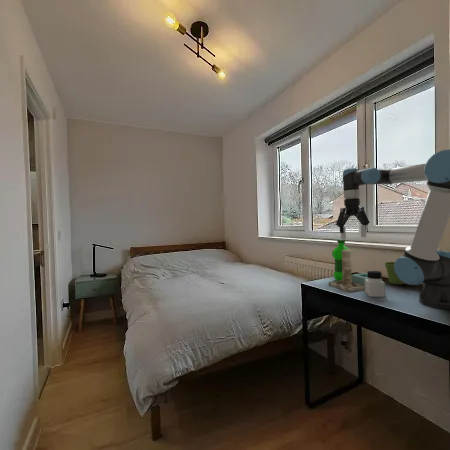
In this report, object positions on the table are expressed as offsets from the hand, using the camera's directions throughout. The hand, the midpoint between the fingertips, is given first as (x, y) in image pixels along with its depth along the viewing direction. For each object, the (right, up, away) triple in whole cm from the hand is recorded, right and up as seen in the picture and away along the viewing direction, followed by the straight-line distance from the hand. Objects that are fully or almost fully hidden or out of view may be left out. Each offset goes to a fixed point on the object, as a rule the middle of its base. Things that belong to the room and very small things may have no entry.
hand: (353, 238), depth 145 cm
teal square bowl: (+9, -27, +4) cm, 28 cm away
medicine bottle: (+5, -28, -11) cm, 30 cm away
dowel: (-2, -27, +3) cm, 27 cm away
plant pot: (+28, -26, +7) cm, 38 cm away
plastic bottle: (+1, -27, +17) cm, 31 cm away
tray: (-2, -27, +3) cm, 27 cm away
